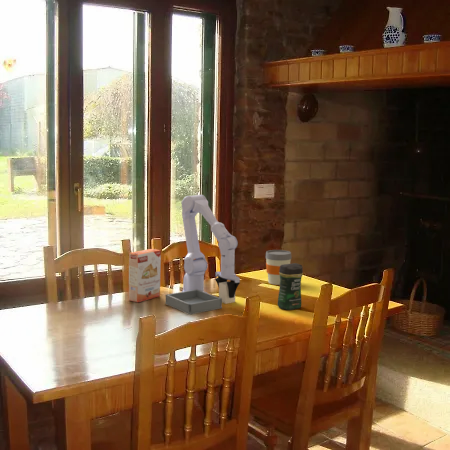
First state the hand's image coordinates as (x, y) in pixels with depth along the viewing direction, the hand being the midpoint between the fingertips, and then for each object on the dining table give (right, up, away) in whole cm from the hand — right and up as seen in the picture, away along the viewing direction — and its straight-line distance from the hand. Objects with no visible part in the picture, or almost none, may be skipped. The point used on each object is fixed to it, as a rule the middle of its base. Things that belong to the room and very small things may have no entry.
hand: (227, 295), depth 257 cm
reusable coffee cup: (+25, +2, +35) cm, 43 cm away
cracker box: (-35, -2, +2) cm, 36 cm away
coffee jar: (+26, -4, -7) cm, 27 cm away
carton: (0, -2, 0) cm, 2 cm away
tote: (-14, -3, -8) cm, 16 cm away
